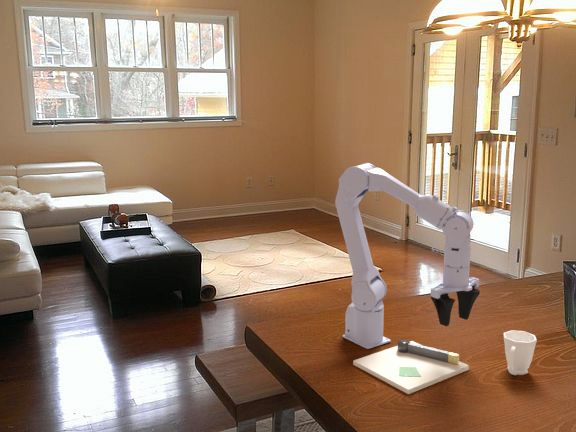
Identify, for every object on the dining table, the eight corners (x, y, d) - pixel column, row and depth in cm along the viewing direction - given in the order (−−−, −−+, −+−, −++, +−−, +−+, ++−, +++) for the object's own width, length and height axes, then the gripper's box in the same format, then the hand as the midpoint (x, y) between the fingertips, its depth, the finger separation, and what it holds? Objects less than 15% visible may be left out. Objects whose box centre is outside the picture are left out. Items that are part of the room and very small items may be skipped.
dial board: (353, 364, 132) (353, 360, 132) (411, 344, 142) (412, 340, 142) (408, 394, 118) (408, 389, 118) (468, 369, 129) (468, 365, 129)
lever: (395, 350, 136) (395, 342, 136) (400, 346, 138) (400, 338, 138) (455, 365, 128) (456, 357, 128) (460, 361, 130) (460, 353, 130)
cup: (538, 368, 129) (540, 334, 127) (526, 386, 121) (528, 349, 119) (505, 360, 133) (508, 327, 131) (492, 377, 125) (494, 342, 124)
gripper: (449, 274, 125) (446, 334, 127) (491, 263, 133) (488, 319, 135) (424, 267, 130) (422, 324, 133) (466, 257, 138) (463, 311, 141)
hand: (454, 321), depth 134 cm, fingers open, 6 cm apart
